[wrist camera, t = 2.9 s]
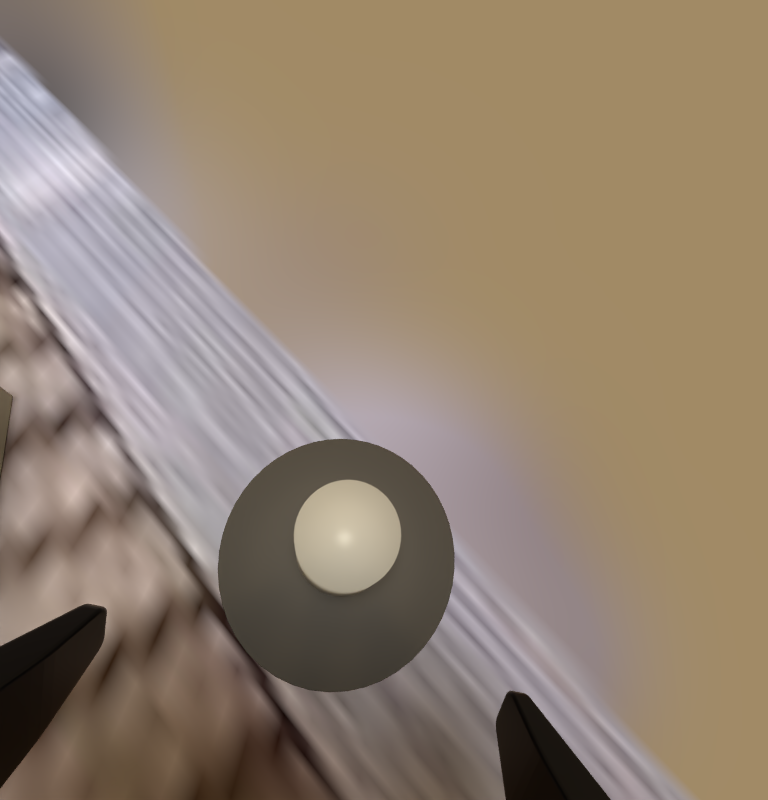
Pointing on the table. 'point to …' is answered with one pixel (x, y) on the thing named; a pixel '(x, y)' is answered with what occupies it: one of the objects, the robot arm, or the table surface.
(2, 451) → the board
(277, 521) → the bottle
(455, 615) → the table surface
